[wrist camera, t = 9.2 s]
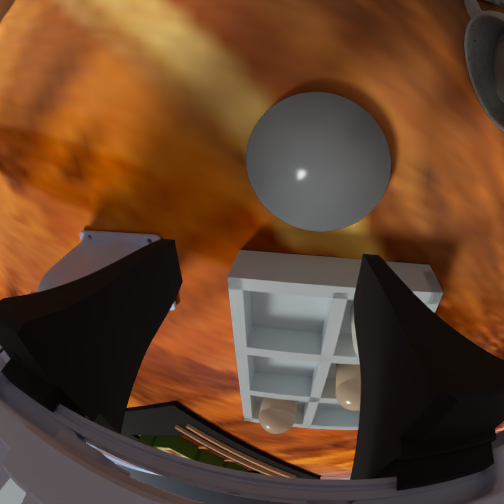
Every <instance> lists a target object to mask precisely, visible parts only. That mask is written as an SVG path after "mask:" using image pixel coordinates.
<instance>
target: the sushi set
mask: <svg viewBox="0 0 504 504" xmlns="http://www.w3.org/2000/svg"><path fill="white" fill-rule="evenodd" d="M121 435H123V436H125V437H127V438H130V439H132V440H135V441H137V442H140V443H142V444H145V445H148V446H151V447H153V448H156V449H159V450H162V451H165V452H168V453H171V454H174V455H177V456H181V457H184V458H188V459H191V460H195V461H198V462H202V463H206V464H210V465H215V466H219V467H223V468H228V469H233V470H238V471H244V472H250V473H256V474H262V475H270V476H278V477H288V478H300V479H317V480H320V476H318V475H315V474H313V473H310V472H307V471H305V470H302V469H300V468H298V467H295V466H293V465H290V464H288V463H286V462H283V461H281V460H279V459H277V458H275V457H272V456H270V455H268V454H266V453H264V452H262V451H260V450H258V449H256V448H254V447H252V446H250V445H248V444H246V443H244V442H242V441H240V440H239V439H237V438H235V437H233V436H231V435H229V434H228V433H226V432H224V431H222V430H221V429H219V428H217V427H216V426H214V425H212V424H210V423H209V422H207V421H206V420H204V419H202V418H201V417H199V416H198V415H196V414H194V413H193V412H191V411H190V410H188V409H187V408H185V407H184V406H182V405H181V404H179V403H178V402H176V401H172V402H166V403H160V404H154V405H147V406H140V407H133V408H126V412H125V416H124V421H123V425H122V430H121ZM138 435H141V437H139V436H138ZM182 435H185V436H186V437H188V438H190V439H192V440H193V441H195V442H197V443H199V444H201V445H203V446H205V447H207V448H208V449H210V450H212V451H214V452H216V453H218V454H220V455H222V456H225V457H227V458H229V459H231V460H233V461H235V462H238V463H240V464H242V465H244V466H247V467H249V468H251V469H254V470H247V469H244V468H242V467H240V466H237V465H235V464H233V463H231V462H224V459H222V458H220V457H218V456H216V455H214V454H212V453H210V452H208V451H206V450H204V449H198V446H196V445H194V444H192V443H191V442H189V441H187V440H185V439H183V438H182V437H180V436H182Z"/></svg>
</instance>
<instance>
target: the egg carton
mask: <svg viewBox="0 0 504 504" xmlns="http://www.w3.org/2000/svg"><path fill="white" fill-rule="evenodd" d="M361 261H362V259H351V258H338V257H325V256H312V255H300V254H287V253H274V252H261V251H248V250H239V253H238V255H237V257H236V259H235V261H234V263H233V266H232V268H231V270H230V272H229V274H228V276H227V278H228V288H229V298H230V307H231V317H232V326H233V335H234V343H235V352H236V360H237V368H238V377H239V384H240V392H241V400H242V407H243V415H244V420H245V421H251V422H258V423H260V422H259V411H260V407H261V403H262V398H263V397H267V398H275V399H284V400H294V401H298V405H297V412H296V419H295V422H294V424H293V426H292V427H301V428H314V429H335V430H358V427H359V414H360V411H351V410H348V409H345V408H344V407H342V406H341V405H340V404H339V402H338V400H337V398H336V363H338V364H360V363H359V357H358V356H357V355H356V353H355V351H354V348H353V342H352V329H351V317H350V308H351V305H352V303H353V302H354V294H355V289H356V285H357V281H358V276H359V271H360V266H361ZM385 262H386V263H387V264H388V265H389V267H390V268H391V269H392V270H393V271H394V272H395V273H396V274H397V276H398V277H399V278H400V279H401V280H402V281H403V282H404V283H405V284H406V285H407V286H408V288H409V289H410V290H411V291H412V292H413V293H414V294H415V295H416V296H417V297H418V298H419V299H420V300H421V301H422V302H423V303H424V304H425V305H426V306H427V307H428V308H430V309H431V310H432V311H433V312H434V313H435V311H436V309H437V307H438V304H439V302H440V300H441V297H442V295H443V291H442V289H441V287H440V285H439V283H438V281H437V279H436V277H435V275H434V273H433V271H432V269H431V267H430V265H426V264H414V263H401V262H388V261H385Z"/></svg>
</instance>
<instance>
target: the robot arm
mask: <svg viewBox="0 0 504 504" xmlns="http://www.w3.org/2000/svg"><path fill="white" fill-rule="evenodd" d="M80 238H81V241H82V242H81V243H80V244H78V245H77V246H76V247H75V248H74V249H72V250H71V251H70V252H69V253H68V254H67V255H65V256H64V257H63V258H62V259H61V260H60V261H59V262H58V263H56V264H55V265H54V266H53V267H52V268H51V269H50V270H49V271H48V272H47V273H46V274H45V275H44V277H43V278H42V280H41V282H40V285H39V288H38V292H31V293H30V294H27V295H22V296H16V297H9V298H4V299H2V300H0V490H1V489H2V487H3V486H4V485H5V484H6V482H7V481H8V480H9V479H10V478H11V479H12V480H13V481H14V482H15V483H16V484H17V485H18V486H19V487H20V488H22V489H23V490H24V491H25V492H26V496H25V498H24V500H23V502H22V504H204V503H201V502H197V501H194V500H191V499H188V498H184V497H181V496H178V495H175V494H172V493H169V492H167V491H164V490H161V489H159V488H156V487H153V486H151V485H148V484H146V483H143V482H141V481H138V480H136V479H134V478H131V477H129V476H130V473H129V472H128V471H126V470H124V469H123V468H121V467H120V466H118V465H116V464H115V463H114V462H112V461H111V460H109V459H108V458H107V457H105V456H104V455H103V454H102V453H101V452H100V451H98V450H96V449H95V448H93V447H91V446H90V445H88V444H86V442H88V443H90V444H92V445H94V446H95V447H97V448H99V449H101V450H103V451H105V452H107V453H109V454H111V455H114V456H116V457H118V458H120V459H122V460H124V461H127V462H129V463H131V464H134V465H136V466H139V467H141V468H144V469H146V470H149V471H151V472H154V473H157V474H159V475H162V476H165V477H168V478H171V479H174V480H177V481H180V482H183V483H187V484H190V485H194V486H197V487H201V488H205V489H210V490H213V491H217V492H221V493H226V494H231V495H236V496H241V497H247V498H253V499H259V500H267V501H275V502H284V503H296V504H504V445H502V446H499V447H498V448H496V449H494V450H492V445H491V442H493V441H494V440H495V439H496V433H495V428H496V427H497V426H498V425H500V424H501V423H502V422H503V421H504V360H502V359H500V358H498V357H496V356H494V355H492V354H491V353H489V352H487V351H486V350H484V349H482V348H481V347H479V346H477V345H476V344H474V343H473V342H471V341H470V340H468V339H467V338H465V337H464V336H463V335H461V334H460V333H459V332H457V331H456V330H455V329H453V328H452V327H451V326H449V325H448V324H447V323H446V322H444V321H443V320H442V319H441V318H440V317H439V316H437V315H436V314H435V313H434V312H433V311H432V310H431V309H430V308H428V307H427V306H426V305H425V304H424V303H423V302H422V301H421V300H420V299H419V298H418V297H417V296H416V295H415V294H414V293H413V292H412V291H411V290H410V289H409V288H408V286H407V285H406V284H405V283H404V282H403V281H402V280H401V279H400V278H399V277H398V276H397V274H396V273H395V272H394V271H393V270H392V269H391V268H390V267H389V265H388V264H387V263H386V262H385V261H384V260H383V259H382V258H381V257H380V256H379V255H369V254H363V256H362V261H361V266H360V271H359V276H358V281H357V285H356V289H355V294H354V324H355V332H356V339H357V347H358V355H359V363H360V374H361V395H360V414H359V427H358V435H357V444H356V451H355V457H354V463H353V468H352V474H351V478H350V480H317V479H300V478H288V477H278V476H270V475H262V474H256V473H250V472H244V471H238V470H233V469H228V468H223V467H219V466H215V465H210V464H206V463H202V462H198V461H195V460H191V459H188V458H184V457H181V456H177V455H174V454H171V453H168V452H165V451H162V450H159V449H156V448H153V447H151V446H148V445H145V444H142V443H140V442H137V441H135V440H132V439H130V438H127V437H125V436H123V435H121V430H122V425H123V421H124V416H125V412H126V408H127V404H128V401H129V397H130V394H131V390H132V387H133V384H134V381H135V379H136V376H137V373H138V370H139V368H140V365H141V363H142V360H143V358H144V355H145V353H146V351H147V349H148V347H149V345H150V343H151V341H152V339H153V337H154V336H155V334H156V332H157V331H158V329H159V327H160V325H161V324H162V322H163V320H164V319H165V317H166V315H167V314H168V312H169V310H175V308H176V307H177V305H176V301H175V299H176V297H177V294H178V292H179V289H180V287H181V284H182V282H183V281H182V276H181V271H180V266H179V261H178V256H177V251H176V245H175V240H170V239H161V238H160V237H159V236H158V235H156V234H140V233H123V232H105V231H86V230H83V231H82V232H80ZM149 239H151V240H152V242H151V241H150V240H149Z"/></svg>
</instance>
